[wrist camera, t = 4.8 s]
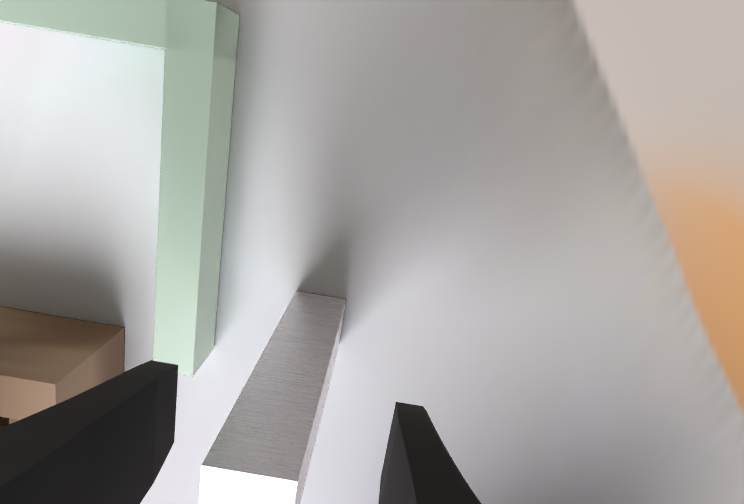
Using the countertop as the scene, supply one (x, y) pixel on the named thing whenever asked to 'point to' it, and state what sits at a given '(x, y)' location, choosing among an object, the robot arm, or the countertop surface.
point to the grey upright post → (277, 410)
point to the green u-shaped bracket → (173, 146)
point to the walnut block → (52, 360)
